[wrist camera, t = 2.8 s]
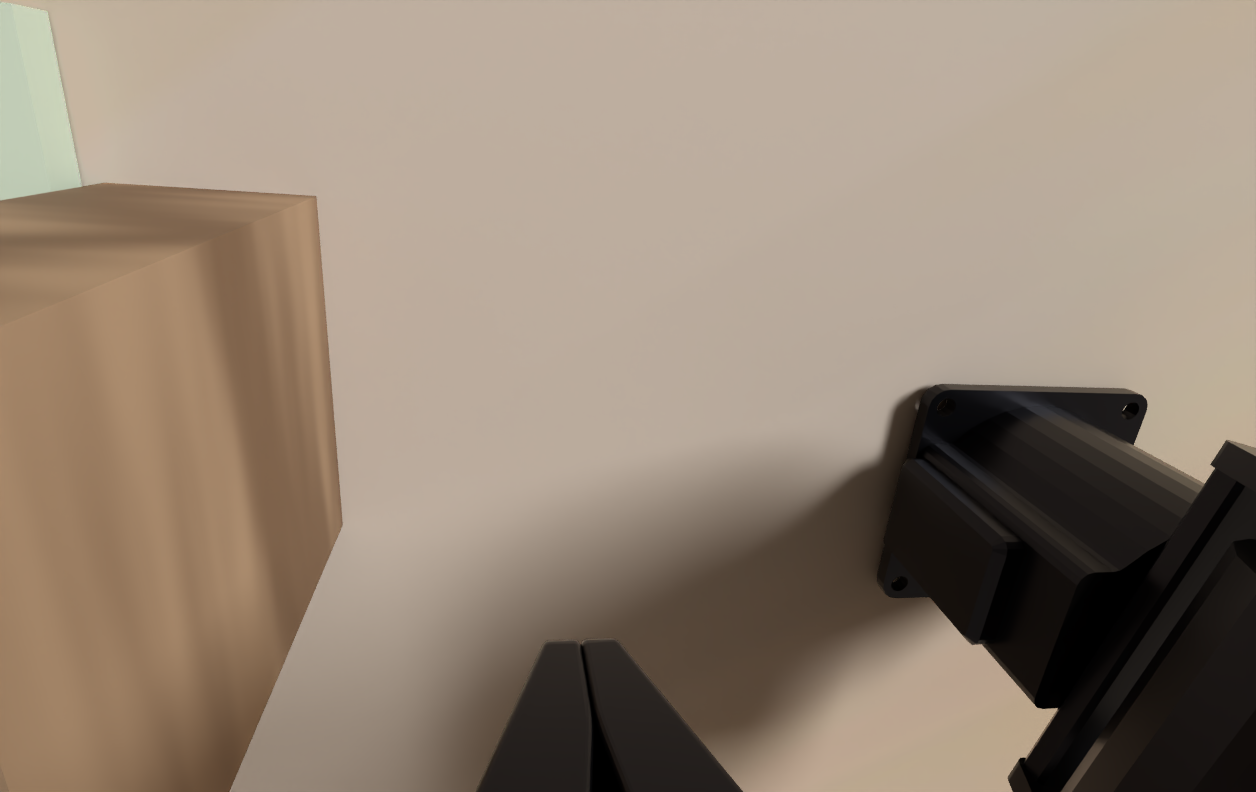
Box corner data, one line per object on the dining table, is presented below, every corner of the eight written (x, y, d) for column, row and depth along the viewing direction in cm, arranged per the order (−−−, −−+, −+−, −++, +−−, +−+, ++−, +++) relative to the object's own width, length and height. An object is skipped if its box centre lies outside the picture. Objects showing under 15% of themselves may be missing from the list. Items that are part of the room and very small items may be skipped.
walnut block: (316, 196, 15) (-132, 379, 5) (342, 524, 18) (106, 1079, 7) (104, 182, 14) (-967, 363, 4) (168, 526, 17) (-349, 1138, 7)
